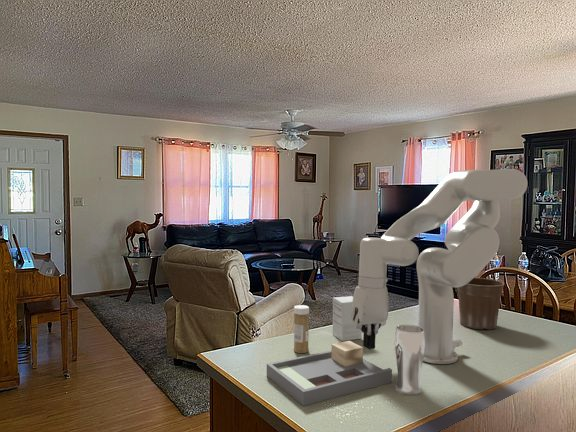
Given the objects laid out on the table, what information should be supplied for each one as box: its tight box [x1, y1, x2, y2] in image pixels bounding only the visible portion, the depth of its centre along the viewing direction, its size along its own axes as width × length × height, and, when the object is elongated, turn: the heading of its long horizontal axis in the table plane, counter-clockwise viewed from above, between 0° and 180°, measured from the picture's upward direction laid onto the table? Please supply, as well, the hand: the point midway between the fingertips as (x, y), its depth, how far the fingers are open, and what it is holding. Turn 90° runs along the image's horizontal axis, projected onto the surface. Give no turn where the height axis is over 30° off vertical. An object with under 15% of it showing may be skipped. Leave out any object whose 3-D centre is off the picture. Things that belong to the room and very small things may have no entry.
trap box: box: [266, 349, 393, 407], centre depth 110 cm, size 26×18×3 cm
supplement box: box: [332, 295, 363, 342], centre depth 142 cm, size 7×7×13 cm
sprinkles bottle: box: [293, 304, 310, 354], centre depth 129 cm, size 5×5×13 cm
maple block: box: [331, 340, 364, 366], centre depth 117 cm, size 6×6×4 cm
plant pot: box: [456, 277, 505, 331], centre depth 156 cm, size 16×16×16 cm
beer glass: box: [394, 323, 425, 396], centre depth 104 cm, size 7×7×15 cm
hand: (368, 347), depth 121 cm, fingers closed
